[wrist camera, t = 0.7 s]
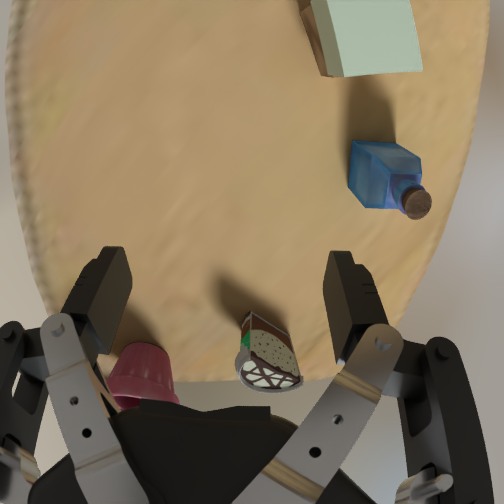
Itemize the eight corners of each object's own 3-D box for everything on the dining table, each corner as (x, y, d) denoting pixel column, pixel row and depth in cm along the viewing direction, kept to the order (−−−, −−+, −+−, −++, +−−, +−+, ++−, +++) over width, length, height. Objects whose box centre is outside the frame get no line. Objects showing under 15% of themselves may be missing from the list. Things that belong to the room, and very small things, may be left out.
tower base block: (299, 12, 27) (309, 5, 23) (363, 2, 26) (381, -4, 22) (320, 75, 31) (333, 77, 27) (381, 63, 30) (401, 65, 26)
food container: (217, 326, 51) (217, 376, 43) (243, 306, 49) (246, 357, 40) (270, 356, 56) (276, 402, 48) (295, 339, 54) (305, 386, 46)
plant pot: (165, 386, 60) (159, 439, 50) (102, 360, 55) (88, 414, 45) (197, 352, 54) (193, 414, 44) (124, 320, 49) (106, 383, 39)
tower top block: (310, 1, 22) (323, -9, 18) (383, -2, 22) (407, -9, 18) (327, 74, 27) (344, 77, 23) (398, 67, 26) (423, 71, 22)
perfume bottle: (347, 187, 39) (386, 234, 29) (352, 140, 35) (397, 173, 25) (389, 187, 39) (435, 232, 29) (396, 143, 36) (449, 177, 26)
